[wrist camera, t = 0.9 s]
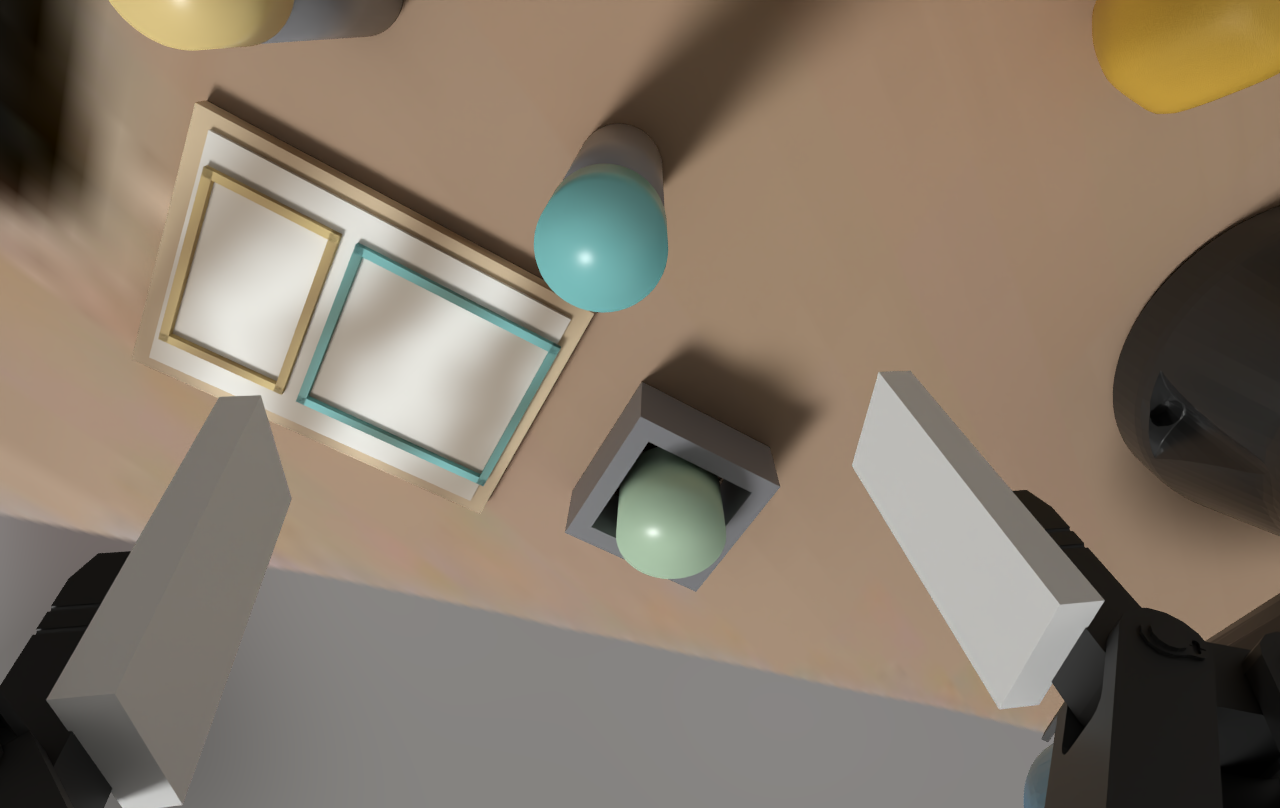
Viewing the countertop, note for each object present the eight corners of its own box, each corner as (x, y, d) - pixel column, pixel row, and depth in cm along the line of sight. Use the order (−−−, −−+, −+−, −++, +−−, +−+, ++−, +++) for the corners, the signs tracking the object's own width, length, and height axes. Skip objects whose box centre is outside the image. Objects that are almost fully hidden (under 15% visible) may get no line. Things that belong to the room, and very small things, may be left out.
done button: (739, 473, 36) (747, 520, 32) (686, 542, 38) (689, 593, 34) (651, 429, 34) (650, 473, 31) (602, 503, 37) (596, 552, 33)
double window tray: (595, 307, 33) (593, 318, 32) (483, 505, 39) (477, 520, 38) (206, 100, 30) (188, 104, 28) (142, 352, 35) (124, 364, 34)
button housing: (769, 447, 37) (780, 486, 34) (693, 547, 40) (696, 591, 37) (642, 381, 35) (640, 416, 32) (572, 491, 38) (564, 532, 35)
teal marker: (680, 151, 30) (693, 224, 20) (636, 228, 32) (627, 334, 21) (601, 104, 29) (571, 154, 19) (561, 185, 31) (511, 273, 20)
